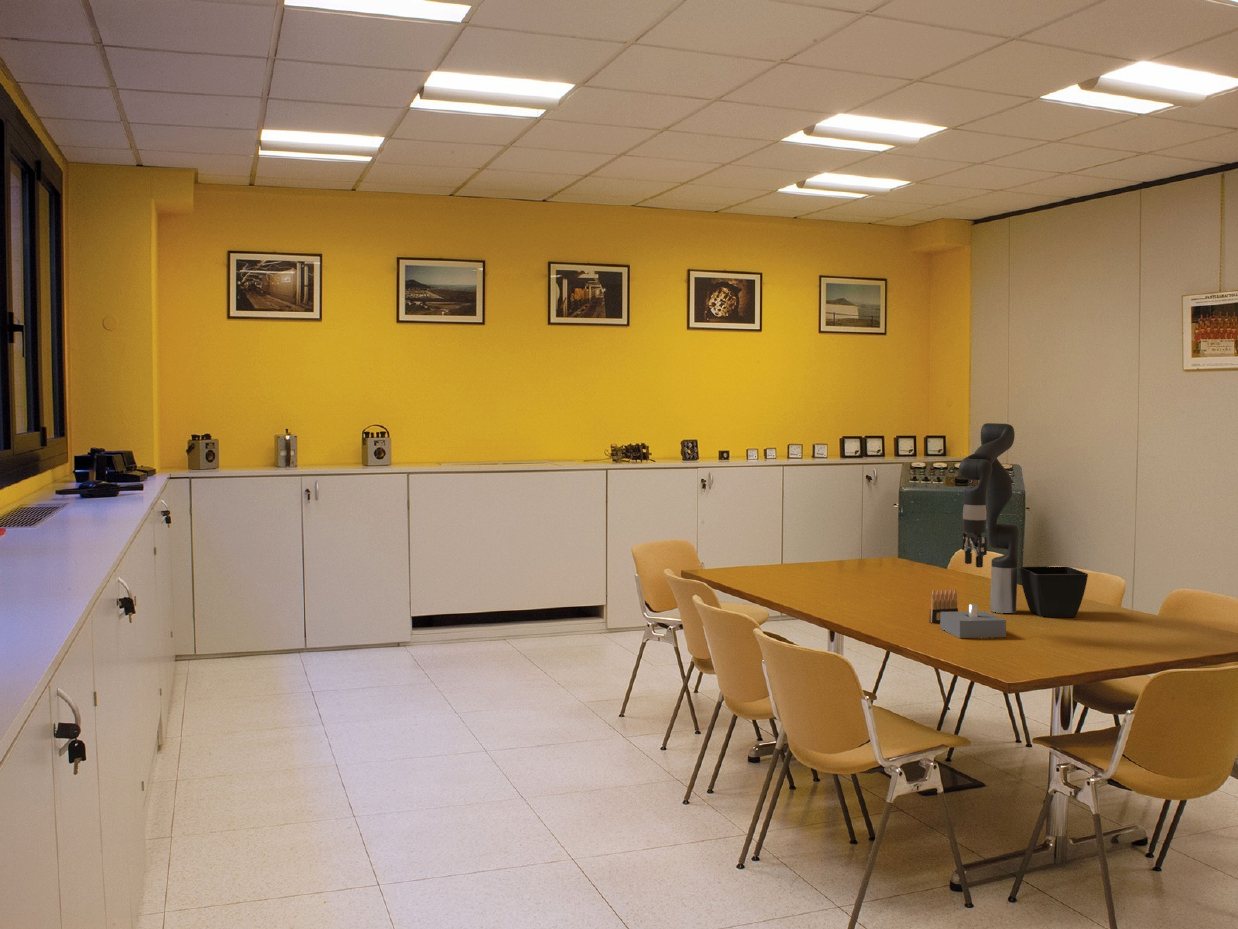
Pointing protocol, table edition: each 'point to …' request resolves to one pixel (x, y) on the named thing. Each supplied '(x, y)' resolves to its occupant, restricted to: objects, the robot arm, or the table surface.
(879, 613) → the table surface
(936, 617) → the ammunition clip
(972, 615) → the metal pin
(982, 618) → the socket block
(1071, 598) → the flower pot
